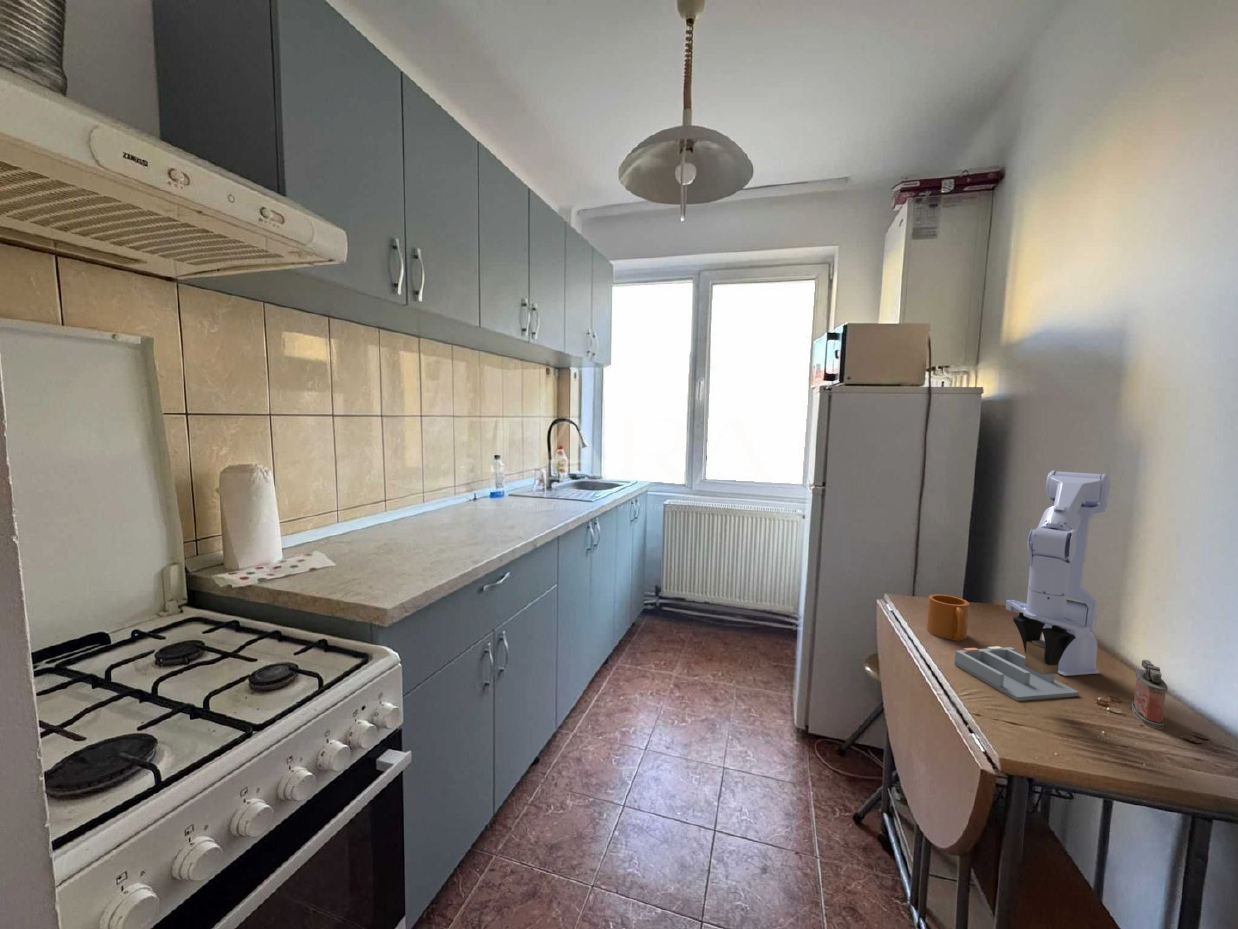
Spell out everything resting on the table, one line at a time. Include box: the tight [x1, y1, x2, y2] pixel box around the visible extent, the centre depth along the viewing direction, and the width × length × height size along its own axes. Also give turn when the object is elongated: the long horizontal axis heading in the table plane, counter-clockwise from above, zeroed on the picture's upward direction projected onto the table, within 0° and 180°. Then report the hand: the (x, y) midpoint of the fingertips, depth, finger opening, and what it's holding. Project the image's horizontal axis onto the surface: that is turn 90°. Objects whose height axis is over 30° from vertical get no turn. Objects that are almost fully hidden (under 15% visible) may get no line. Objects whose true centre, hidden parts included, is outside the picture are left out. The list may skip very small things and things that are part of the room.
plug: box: [1024, 639, 1059, 675], centre depth 97 cm, size 4×4×5 cm
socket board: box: [954, 645, 1080, 702], centre depth 107 cm, size 14×15×4 cm
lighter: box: [1131, 659, 1168, 730], centre depth 93 cm, size 8×3×10 cm, turn 148°
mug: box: [926, 594, 970, 642], centre depth 129 cm, size 9×12×9 cm
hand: (1041, 659), depth 97 cm, fingers closed on plug, 3 cm apart
